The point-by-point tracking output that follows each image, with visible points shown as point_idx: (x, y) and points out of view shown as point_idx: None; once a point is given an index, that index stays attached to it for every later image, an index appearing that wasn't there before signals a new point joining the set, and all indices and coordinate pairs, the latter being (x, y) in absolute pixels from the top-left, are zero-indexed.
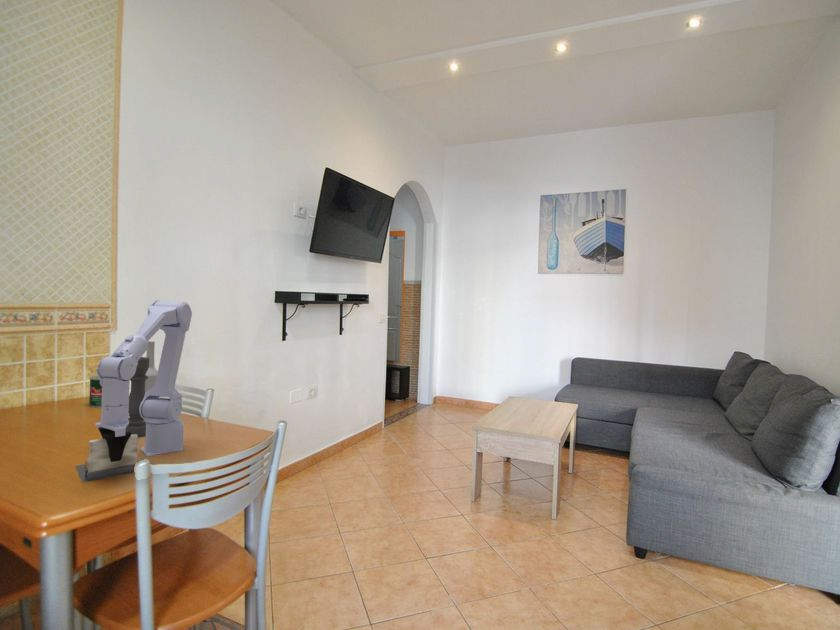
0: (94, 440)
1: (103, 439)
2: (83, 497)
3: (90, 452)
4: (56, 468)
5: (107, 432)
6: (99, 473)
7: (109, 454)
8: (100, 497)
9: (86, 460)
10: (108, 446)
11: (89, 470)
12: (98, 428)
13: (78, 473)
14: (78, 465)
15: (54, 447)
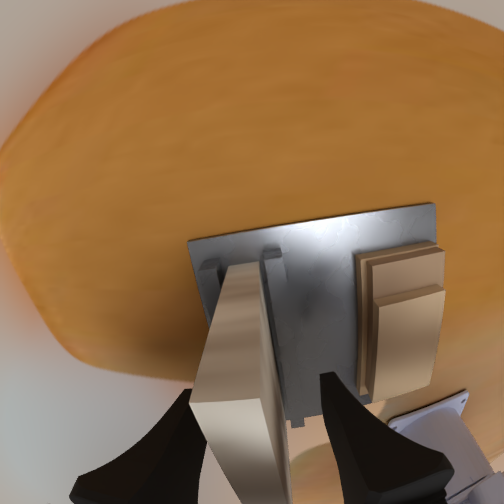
0: (241, 428)
1: (247, 466)
2: (61, 251)
3: (207, 342)
4: (449, 136)
5: (356, 491)
6: (211, 315)
7: (169, 413)
8: (53, 298)
9: (422, 256)
10: (130, 449)
11: (224, 282)
12: (420, 481)
13: (329, 218)
14: (435, 216)
15: None
